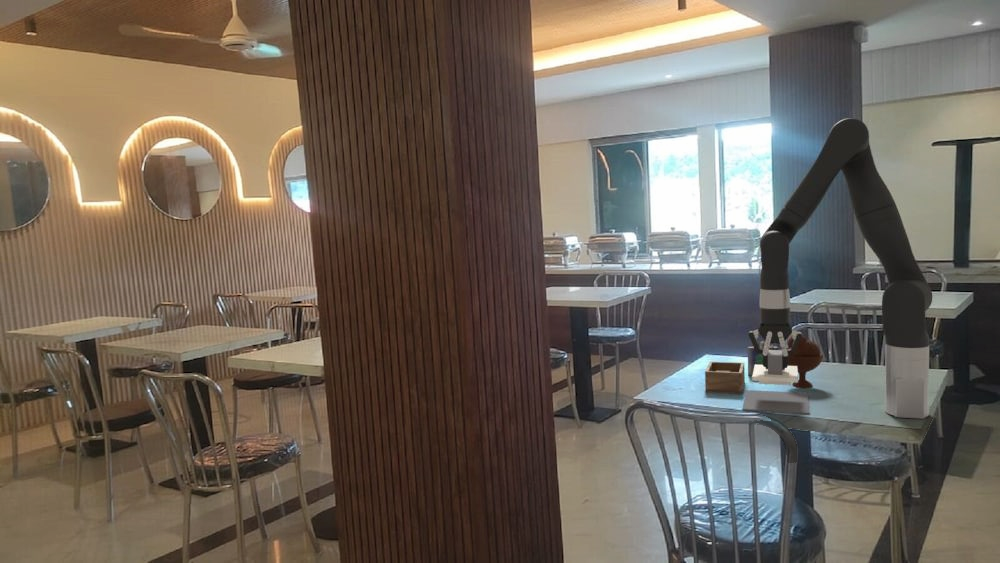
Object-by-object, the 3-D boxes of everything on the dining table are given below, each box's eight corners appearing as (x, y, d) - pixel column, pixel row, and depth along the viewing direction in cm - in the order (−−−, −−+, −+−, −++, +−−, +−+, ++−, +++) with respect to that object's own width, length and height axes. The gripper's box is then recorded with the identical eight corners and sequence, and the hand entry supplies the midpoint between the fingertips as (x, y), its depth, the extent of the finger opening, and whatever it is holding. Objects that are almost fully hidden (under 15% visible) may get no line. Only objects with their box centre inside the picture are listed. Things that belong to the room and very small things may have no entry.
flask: (748, 375, 213) (747, 342, 212) (747, 373, 216) (746, 340, 215) (779, 376, 211) (779, 342, 210) (778, 374, 213) (777, 340, 212)
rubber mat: (809, 414, 170) (809, 412, 170) (742, 410, 176) (742, 408, 176) (807, 394, 188) (807, 392, 188) (746, 391, 194) (746, 390, 194)
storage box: (742, 393, 192) (741, 373, 191) (705, 392, 196) (705, 371, 195) (744, 382, 205) (744, 362, 204) (710, 380, 209) (709, 361, 208)
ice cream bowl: (784, 389, 194) (784, 338, 193) (781, 380, 205) (780, 331, 203) (825, 390, 191) (824, 338, 190) (819, 381, 201) (818, 331, 200)
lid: (798, 387, 173) (797, 359, 172) (752, 384, 177) (751, 357, 176) (797, 373, 186) (797, 348, 186) (754, 372, 191) (754, 347, 190)
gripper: (745, 307, 179) (746, 371, 181) (804, 307, 174) (804, 373, 175) (747, 303, 186) (748, 365, 188) (803, 303, 181) (803, 367, 182)
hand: (775, 368), depth 181 cm, fingers closed on lid, 3 cm apart
